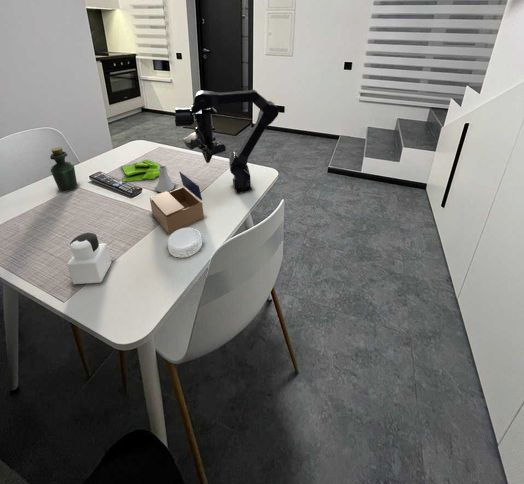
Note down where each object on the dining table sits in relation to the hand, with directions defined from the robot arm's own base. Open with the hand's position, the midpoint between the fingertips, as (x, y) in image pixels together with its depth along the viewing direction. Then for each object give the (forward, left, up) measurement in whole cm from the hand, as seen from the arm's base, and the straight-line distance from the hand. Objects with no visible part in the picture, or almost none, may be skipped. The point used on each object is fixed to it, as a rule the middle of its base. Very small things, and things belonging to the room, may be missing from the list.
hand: (207, 162), depth 113 cm
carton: (+14, +12, -13) cm, 23 cm away
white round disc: (+14, +29, -13) cm, 35 cm away
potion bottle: (+55, -25, -13) cm, 62 cm away
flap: (+9, +11, -3) cm, 14 cm away
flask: (+17, -9, -13) cm, 23 cm away
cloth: (+26, -30, -13) cm, 42 cm away
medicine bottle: (+39, +30, -13) cm, 51 cm away
